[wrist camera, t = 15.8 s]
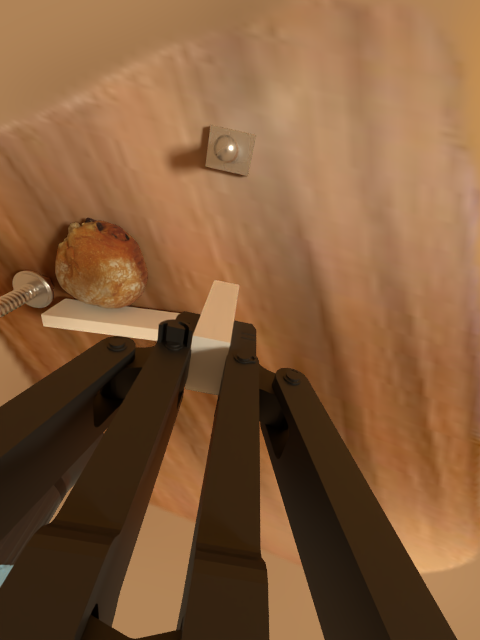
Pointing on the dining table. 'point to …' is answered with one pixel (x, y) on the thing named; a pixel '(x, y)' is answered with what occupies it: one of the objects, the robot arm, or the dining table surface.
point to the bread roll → (101, 265)
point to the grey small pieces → (230, 150)
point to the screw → (27, 292)
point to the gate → (106, 319)
